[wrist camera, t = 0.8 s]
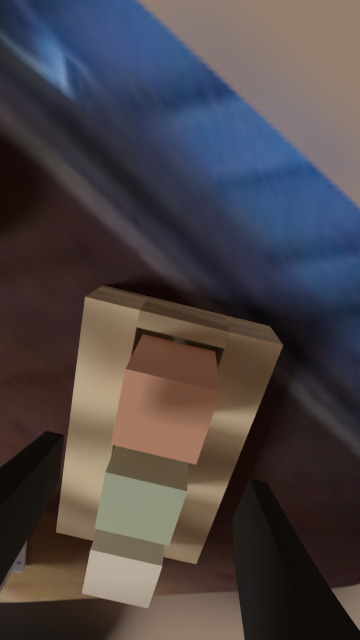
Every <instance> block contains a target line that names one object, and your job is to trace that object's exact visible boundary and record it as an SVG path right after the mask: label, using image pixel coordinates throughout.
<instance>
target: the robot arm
mask: <svg viewBox="0 0 360 640" xmlns="http://www.w3.org/2000/svg"><path fill="white" fill-rule="evenodd" d="M63 442H64V435H62V434H58V433H53V432H49V431H46V432H44V433H43V434H42V435H40V436H39V437H38V438H37V439H35V440H34V441H33V442H32V443H31V444H29V445H28V446H27V447H26V448H24V449H23V450H22V451H21V452H19V453H18V454H17V455H16V456H14V457H13V458H12V459H10V460H9V461H8V462H7V463H5V464H4V465H3V466H1V467H0V593H1V591H2V589H3V587H4V585H5V583H6V581H7V579H8V578H9V576H10V574H11V572H12V571H14V572H22V571H23V570H24V568H25V564H26V551H27V539H28V538H29V536H30V534H31V533H32V531H33V529H34V527H35V526H36V524H37V522H38V521H39V519H40V517H41V515H42V514H43V512H44V510H45V508H46V506H47V504H48V502H49V499H50V497H51V495H52V493H53V491H54V489H55V486H56V484H57V482H58V480H59V475H60V467H61V458H62V450H63ZM233 549H234V561H235V569H236V577H237V585H238V592H239V599H240V607H241V615H242V622H243V630H244V638H245V640H360V630H359V629H358V628H357V626H356V625H355V624H354V622H353V621H352V620H351V618H350V617H349V615H348V614H347V612H346V611H345V609H344V608H343V607H342V605H341V604H340V602H339V601H338V599H337V598H336V596H335V595H334V593H333V592H332V590H331V589H330V587H329V586H328V584H327V583H326V581H325V579H324V578H323V576H322V575H321V573H320V572H319V570H318V569H317V567H316V565H315V564H314V562H313V561H312V559H311V557H310V556H309V554H308V552H307V551H306V549H305V547H304V546H303V544H302V542H301V541H300V539H299V537H298V536H297V534H296V532H295V531H294V529H293V527H292V526H291V524H290V522H289V520H288V519H287V517H286V515H285V513H284V512H283V510H282V508H281V506H280V505H279V503H278V501H277V499H276V498H275V496H274V494H273V492H272V491H271V489H270V487H269V485H268V484H267V483H266V482H262V481H258V480H254V479H250V480H249V482H248V484H247V487H246V489H245V491H244V494H243V496H242V498H241V501H240V503H239V505H238V508H237V510H236V512H235V515H234V517H233Z"/></svg>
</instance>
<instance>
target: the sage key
mask: <svg viewBox="0 0 360 640" xmlns="http://www.w3.org/2000/svg"><path fill="white" fill-rule="evenodd" d="M187 487H188V463H187V462H183V461H179V460H175V459H170V458H166V457H162V456H158V455H153V454H149V453H145V452H141V451H136V450H132V449H128V448H124V447H119V446H115V448H114V451H113V453H112V456H111V459H110V461H109V464H108V467H107V469H106V472H105V477H104V482H103V487H102V492H101V498H100V503H99V508H98V513H97V518H96V524H95V529H98V530H103V531H107V532H111V533H116V534H120V535H124V536H129V537H133V538H137V539H142V540H146V541H150V542H155V543H159V544H164V545H168V546H169V545H170V542H171V539H172V536H173V533H174V530H175V527H176V524H177V521H178V518H179V515H180V512H181V509H182V506H183V503H184V500H185V497H186V494H187Z"/></svg>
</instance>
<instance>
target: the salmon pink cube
mask: <svg viewBox="0 0 360 640" xmlns="http://www.w3.org/2000/svg"><path fill="white" fill-rule="evenodd" d="M220 392H221V391H220V383H219V376H218V368H217V361H216V353H215V351H211V350H207V349H203V348H198V347H194V346H190V345H186V344H182V343H178V342H174V341H170V340H165V339H161V338H157V337H153V336H149V335H145V334H143V335H142V337H141V339H140V341H139V343H138V345H137V347H136V349H135V351H134V353H133V355H132V357H131V359H130V361H129V363H128V365H127V367H126V369H125V373H124V378H123V384H122V389H121V394H120V399H119V404H118V410H117V415H116V420H115V425H114V430H113V435H112V441H111V445H115V446H119V447H124V448H128V449H132V450H136V451H141V452H145V453H149V454H153V455H158V456H162V457H166V458H170V459H175V460H179V461H183V462H187V463H192V464H197V461H198V458H199V455H200V452H201V449H202V446H203V443H204V440H205V437H206V434H207V431H208V428H209V425H210V422H211V419H212V416H213V413H214V410H215V407H216V404H217V401H218V398H219V395H220Z"/></svg>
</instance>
